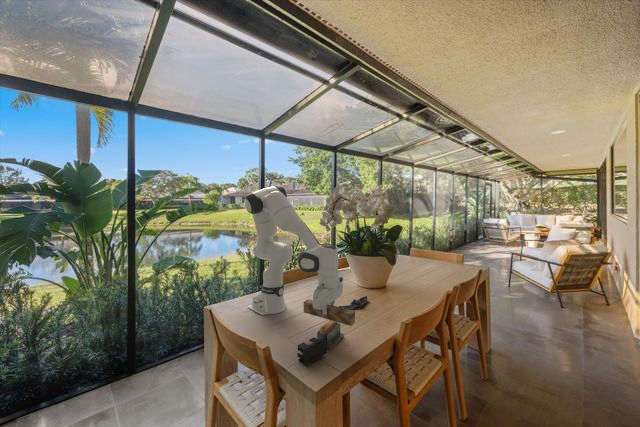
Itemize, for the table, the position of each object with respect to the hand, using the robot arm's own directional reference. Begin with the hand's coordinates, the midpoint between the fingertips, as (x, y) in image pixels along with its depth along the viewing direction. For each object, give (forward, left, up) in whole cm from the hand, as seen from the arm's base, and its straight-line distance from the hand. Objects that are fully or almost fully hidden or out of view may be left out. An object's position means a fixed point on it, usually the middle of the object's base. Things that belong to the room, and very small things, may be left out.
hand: (328, 312), depth 113 cm
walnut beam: (0, 0, -2) cm, 2 cm away
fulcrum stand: (0, 0, -13) cm, 13 cm away
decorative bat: (-4, +42, -14) cm, 44 cm away
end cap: (+1, -14, -14) cm, 20 cm away
